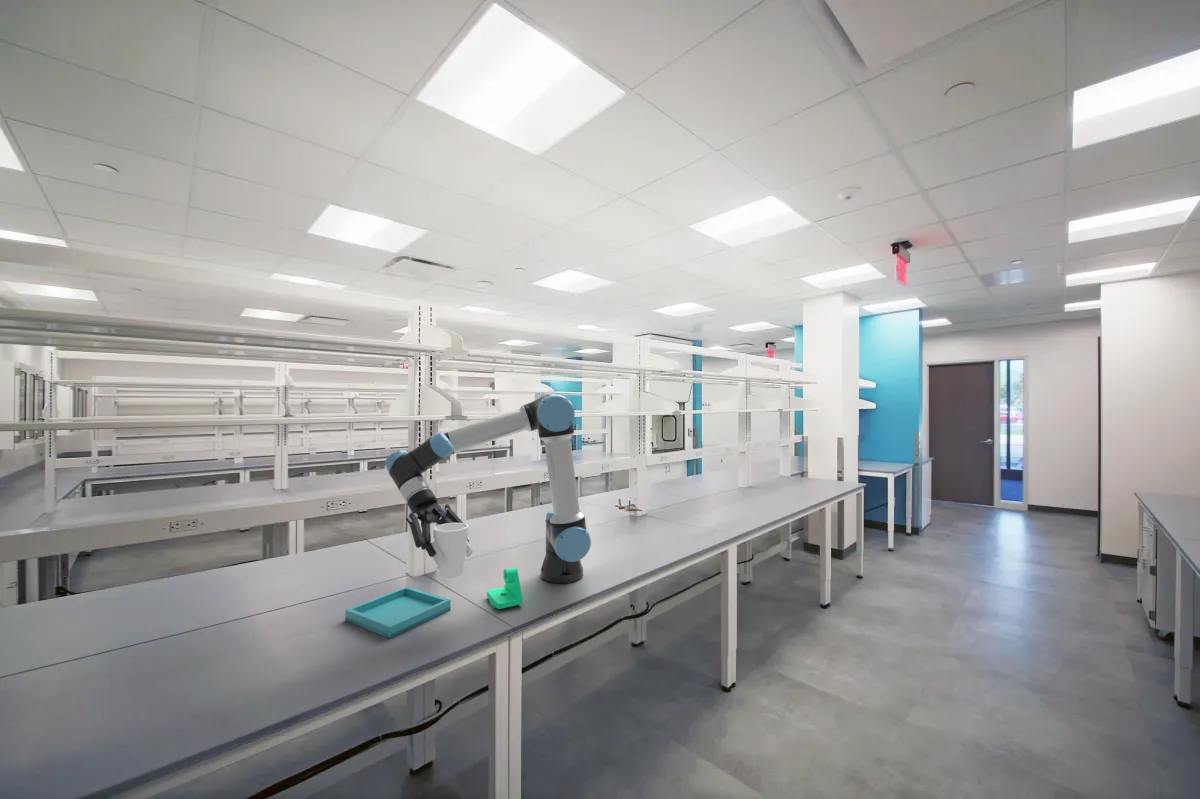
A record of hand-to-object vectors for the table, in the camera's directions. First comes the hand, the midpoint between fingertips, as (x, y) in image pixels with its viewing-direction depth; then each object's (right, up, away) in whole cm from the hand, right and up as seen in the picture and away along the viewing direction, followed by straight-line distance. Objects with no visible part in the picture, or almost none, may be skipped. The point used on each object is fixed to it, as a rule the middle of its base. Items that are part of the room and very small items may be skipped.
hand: (456, 559), depth 129 cm
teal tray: (-19, -18, +6) cm, 27 cm away
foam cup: (-2, -5, +1) cm, 5 cm away
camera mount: (+10, -19, +15) cm, 26 cm away
